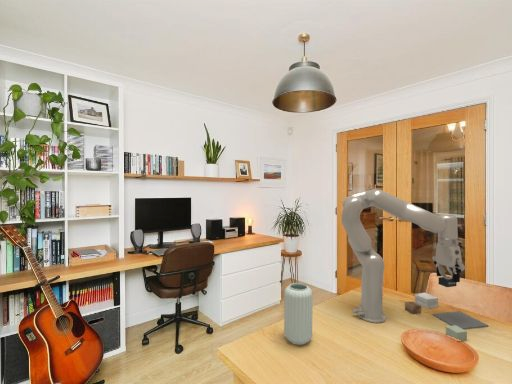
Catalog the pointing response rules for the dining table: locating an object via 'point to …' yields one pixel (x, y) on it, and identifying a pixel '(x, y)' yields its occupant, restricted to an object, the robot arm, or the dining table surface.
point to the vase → (298, 313)
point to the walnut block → (413, 307)
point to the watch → (446, 277)
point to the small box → (426, 300)
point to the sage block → (456, 332)
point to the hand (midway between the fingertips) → (447, 278)
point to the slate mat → (460, 320)
